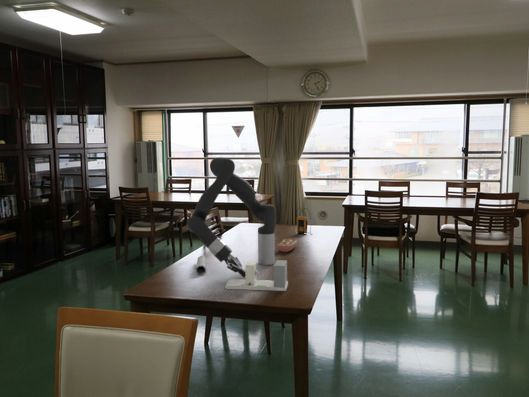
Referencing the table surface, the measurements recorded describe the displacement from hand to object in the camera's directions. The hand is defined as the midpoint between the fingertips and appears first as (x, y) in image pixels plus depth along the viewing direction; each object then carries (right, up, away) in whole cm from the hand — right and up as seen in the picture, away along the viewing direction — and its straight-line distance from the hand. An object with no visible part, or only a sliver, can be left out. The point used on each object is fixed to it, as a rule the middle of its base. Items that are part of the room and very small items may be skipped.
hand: (245, 275), depth 207 cm
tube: (-25, -2, +32) cm, 41 cm away
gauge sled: (+3, -3, -1) cm, 4 cm away
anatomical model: (+24, +3, +74) cm, 78 cm away
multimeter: (+39, +10, +127) cm, 133 cm away
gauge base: (+5, -5, 0) cm, 7 cm away
